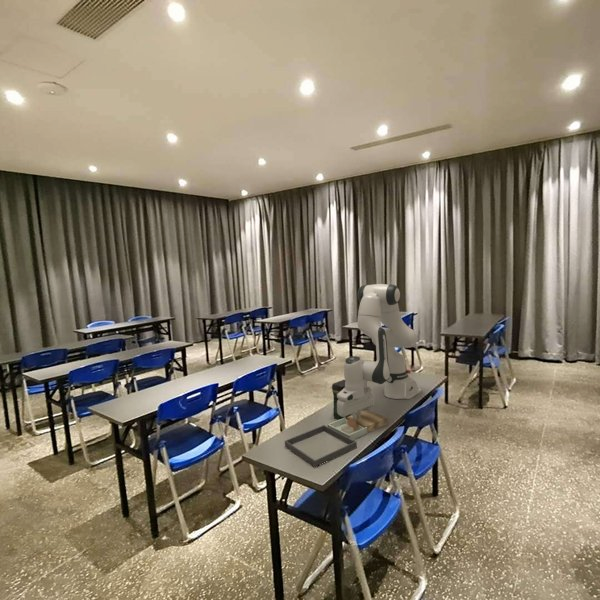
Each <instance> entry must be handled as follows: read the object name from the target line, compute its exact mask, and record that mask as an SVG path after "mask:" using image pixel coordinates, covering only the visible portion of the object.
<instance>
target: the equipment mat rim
mask: <svg viewBox="0 0 600 600" xmlns="http://www.w3.org/2000/svg"><path fill="white" fill-rule="evenodd" d="M322 432H326V433H327V434H329V435H331V436H333V437H336V438H337V439H338V440H340V441H341V442H344V443H346V445H345V446H343V447H340V448H337V450H334V451H332V452H330V453H328V454H326V455H323V456H321V457H319V458H316V459H314V458H312V457H311V456H310V455H308V454H307V453H305V452H304V451H302V450H300V449H299V448H298V447H296V446H294V445H293V444H296V443H299V442H301V441H303V440H305V439H308V438H310V437H313V436H315V435H318V434H319V433H322ZM357 444H358V442H357V441H355V440H352V439H350V438H348V437H346V436H344V435H342V434H340V433H338V432H337V431H335V430H333V429H331V428H329V427H328V425H324V424H323V425H321V426H318V427H315V428H313V429H311V430H309V431H306V432H303V433H301V434H299V435H296V436H293V437H291V438H288V439H286V440H284V447H285V448H287V449H288V450H289V451H291V452H293V453H294V454H295V455H297V456H298V457H300V458H301V459H303V460H304V461H305V462H307V463H308V464H309V465H311V466H312V465H313V466H312V467H314V468H317V467H319V466H321V465H320V464H322V463H324V462H326V461H328V460H330V461H332V460H334V459H336V458H338V457H339V456H340V457H341V456H342V455H345V454H347V453H349V452H350V451H353V450H354V449H357V447H358V445H357ZM337 456H338V457H337ZM335 457H336V458H335ZM333 458H334V459H333ZM331 459H332V460H331ZM328 462H329V461H328ZM326 463H327V462H326ZM324 464H325V463H324ZM318 465H319V466H318ZM322 465H323V464H322ZM316 466H317V467H316Z"/></svg>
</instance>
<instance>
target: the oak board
mask: <svg viewBox="0 0 600 600" xmlns="http://www.w3.org/2000/svg"><path fill="white" fill-rule="evenodd" d="M356 414H357V412H356ZM356 414H355V415H356ZM346 418H347V419H346V420H349V419H352V420H353V416H352V415H351V416H348V417H346ZM356 424H357V425H359V426H361V427H364V428H365V427H367V434H368V433H370V432H373V431H375V430H378V429H379V428H381V427H384V426H386V425H387V424H388V422H387V417H385V416H382V415H380V414H378V413H375V412H373V411H370V410H368V409H362V412H361V415H360V419H358V420H356Z"/></svg>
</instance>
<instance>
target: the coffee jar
mask: <svg viewBox="0 0 600 600" xmlns="http://www.w3.org/2000/svg"><path fill="white" fill-rule="evenodd" d="M344 388H345V379H342V380H340V381H337V382H334V383H332V385H331V392H332V394H333V418H335V419H336V420H340V419H342V418H346V417H348V416H351V414H350V415H347V416H345V417H342V416H340V415H338V413H337V401H338V398H337V394H338V393H339V392H340V391H342V390H343V389H344ZM346 420H347V418H346Z"/></svg>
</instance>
